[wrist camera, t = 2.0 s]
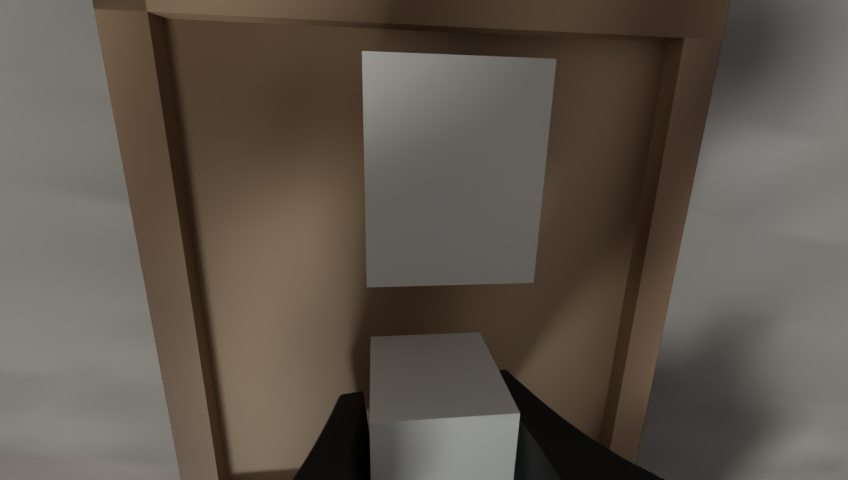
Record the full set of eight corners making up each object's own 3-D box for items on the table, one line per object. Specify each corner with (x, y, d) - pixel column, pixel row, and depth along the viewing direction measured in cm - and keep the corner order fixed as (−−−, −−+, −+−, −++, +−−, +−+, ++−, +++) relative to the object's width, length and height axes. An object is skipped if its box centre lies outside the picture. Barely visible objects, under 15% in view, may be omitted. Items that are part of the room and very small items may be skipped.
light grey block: (479, 332, 12) (520, 412, 9) (472, 443, 13) (506, 552, 10) (370, 336, 12) (369, 422, 8) (372, 450, 13) (372, 566, 9)
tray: (693, 6, 11) (731, -7, 10) (609, 464, 15) (629, 493, 14) (119, -28, 9) (83, -49, 8) (206, 498, 13) (190, 534, 12)
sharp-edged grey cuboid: (496, 78, 10) (556, 58, 7) (486, 234, 11) (534, 282, 8) (365, 74, 10) (361, 50, 6) (368, 235, 11) (367, 287, 8)
